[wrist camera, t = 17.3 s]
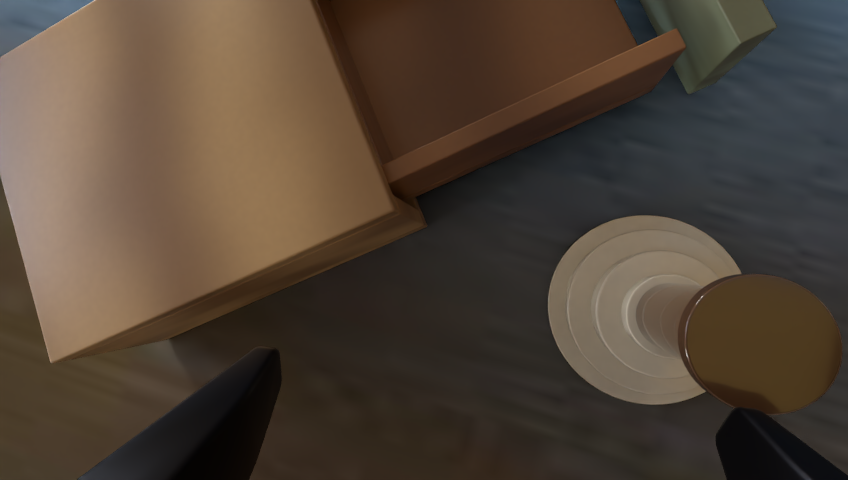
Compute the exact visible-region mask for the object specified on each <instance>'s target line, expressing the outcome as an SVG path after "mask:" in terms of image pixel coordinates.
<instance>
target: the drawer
mask: <svg viewBox="0 0 848 480" xmlns="http://www.w3.org/2000/svg"><path fill="white" fill-rule="evenodd" d="M315 1H316V4H317V6H318V9H319V11H320V14H321V16H322V19H323V21H324V24H325V26H326V29H327V31H328V34H329V36H330V39H331V41H332V44H333V46H334V49H335V51H336V54H337V56H338V59H339V61H340V64H341V66H342V69H343V71H344V74H345V76H346V79H347V81H348V84H349V86H350V89H351V91H352V94H353V96H354V99H355V101H356V104H357V106H358V109H359V111H360V114H361V116H362V119H363V121H364V124H365V126H366V129H367V131H368V134H369V136H370V139H371V141H372V144H373V146H374V149H375V151H376V154H377V156H378V159H379V161H380V164H381V166H382V169H383V172H384V174H385V177H386V179H387V182H388V184H389V187H390V189H391V192H392V194H393V195H394V196H396V197H397V198H399V199H401V200H402V201H404V202H405V201H408V200H410V199H412V198H414V197H417V196H419V195H421V194H423V193H426V192H428V191H430V190H432V189H435V188H437V187H439V186H441V185H443V184H446V183H448V182H450V181H452V180H455V179H457V178H459V177H461V176H464V175H466V174H468V173H470V172H473V171H475V170H477V169H479V168H481V167H484V166H486V165H488V164H490V163H493V162H495V161H497V160H499V159H502V158H504V157H506V156H508V155H511V154H513V153H515V152H517V151H519V150H522V149H524V148H526V147H528V146H531V145H533V144H535V143H537V142H540V141H542V140H544V139H546V138H549V137H551V136H553V135H555V134H558V133H560V132H562V131H564V130H566V129H569V128H571V127H573V126H575V125H578V124H580V123H582V122H584V121H587V120H589V119H591V118H593V117H596V116H598V115H600V114H602V113H604V112H607V111H609V110H611V109H613V108H616V107H618V106H620V105H622V104H625V103H627V102H629V101H631V100H634V99H636V98H638V97H640V96H642V95H645V94H647V93H649V92H651V91H652V90H653V89H654V87H655V86H656V85H657V84H658V83H659V81H660V80H661V79H662V77H663V76H664V75H665V74H666V72H667V71H668V70H669V69H670V67H671V66H672V65H673V66H674V68H675V70H676V72H677V74H678V76H679V78H680V80H681V82H682V84H683V86H684V88H685V90H686V92H687V93H688V94H691V93H693V92H696V91H698V90H700V89H703V88H705V87H707V86H709V85H712V84H714V83H716V82H717V81H718V80H719V79H720V78H721V77H723V76H724V75H725V74H726V73H727V72H728V71H729V70H730V69H731V68H733V67H734V66H735V65H736V64H737V63H738V62H739V61H740V60H741V59H743V58H744V57H745V56H746V55H747V54H748V53H749V52H750V51H751V50H752V49H754V48H755V47H756V46H757V45H758V44H759V43H760V42H761V41H762V40H764V39H765V38H766V37H767V36H768V35H769V34H770V33H771V32H772V31H774V30H775V29H776V28H777V25H776V23H775V22H774V20H773V18H772V16H771V15H770V13H769V11H768V9H767V7H766V6H765V4H764V2H763V0H640V2H641V4H642V6H643V8H644V10H645V12H646V14H647V16H648V18H649V20H650V22H651V24H652V26H653V28H654V30H655V31H656V33H657V35H658V37H656V38H654V39H652V40H649V41H647V42H645V43H643V44H641V45H639V46H638V45H637V43H636V41H635V39H634V37H633V35H632V33H631V31H630V29H629V27H628V25H627V23H626V21H625V19H624V17H623V15H622V13H621V11H620V9H619V7H618V5H617V3H616V1H615V0H315Z"/></svg>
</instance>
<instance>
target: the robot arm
mask: <svg viewBox="0 0 848 480" xmlns="http://www.w3.org/2000/svg"><path fill="white" fill-rule="evenodd" d="M281 381H282V375H281V364H280V353H279V351H278V349H276V348H271V347H263V346H258V347H255V348H254V349H252V350H251V351H250V352H248V353H247V354H246V355H244V356H243V357H242V358H240V359H239V360H237V361H236V362H235V363H233V364H232V365H231V366H229V367H228V368H227V369H225V370H224V371H223V372H221V373H220V374H219V375H217V376H216V377H215V378H213V379H212V380H211V381H209V382H208V383H206V384H205V385H204V386H202V387H201V388H200V389H198V390H197V391H196V392H194V393H193V394H192V395H190V396H189V397H188V398H186V399H185V400H184V401H182V402H181V403H179V404H178V405H177V406H175V407H174V408H173V409H171V410H170V411H169V412H167V413H166V414H165V415H163V416H162V417H161V418H159V419H158V420H157V421H155V422H154V423H152V424H151V425H150V426H148V427H147V428H146V429H144V430H143V431H142V432H140V433H139V434H138V435H136V436H135V437H134V438H132V439H131V440H130V441H128V442H127V443H125V444H124V445H123V446H121V447H120V448H119V449H117V450H116V451H115V452H113V453H112V454H111V455H109V456H108V457H107V458H105V459H104V460H103V461H101V462H100V463H98V464H97V465H96V466H94V467H93V468H92V469H90V470H89V471H88V472H86V473H85V474H84V475H82V476H81V477H80V478H78V479H77V480H249V478H250V476H251V474H252V471H253V469H254V466H255V464H256V461H257V458H258V455H259V452H260V449H261V446H262V443H263V440H264V437H265V434H266V431H267V428H268V425H269V421H270V418H271V415H272V412H273V409H274V406H275V403H276V400H277V397H278V394H279V391H280V387H281ZM716 446H717V450H718V453H719V456H720V459H721V462H722V465H723V469H724V472H725V475H726V478H727V480H848V475H846V474H845V473H844V472H842V471H841V470H840V469H838V468H837V467H836V466H834V465H833V464H832V463H830V462H829V461H828V460H826V459H825V458H824V457H822V456H821V455H820V454H818V453H817V452H816V451H814V450H813V449H812V448H810V447H809V446H808V445H806V444H805V443H804V442H802V441H801V440H800V439H798V438H797V437H796V436H794V435H793V434H792V433H790V432H789V431H788V430H786V429H785V428H784V427H782V426H781V425H780V424H778V423H777V422H776V421H774V420H773V419H772V418H770V417H769V416H768V415H766V414H765V413H764V412H762V411H760V410H757V409H752V408H744V407H736V408H734V409H733V410H732V411H731V412H730V414H729V415H728V417H727V418H726V420H725V421H724V422H723V424H722V425H721V427H720V428H719V430H718V431H717V434H716Z"/></svg>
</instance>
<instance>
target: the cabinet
mask: <svg viewBox="0 0 848 480" xmlns="http://www.w3.org/2000/svg"><path fill="white" fill-rule="evenodd" d="M0 176H1V179H2V183H3V187H4V191H5V194H6V198H7V202H8V206H9V209H10V213H11V217H12V220H13V224H14V228H15V232H16V235H17V239H18V243H19V247H20V250H21V254H22V258H23V262H24V265H25V269H26V273H27V276H28V280H29V284H30V288H31V291H32V295H33V299H34V303H35V306H36V310H37V314H38V317H39V321H40V325H41V329H42V332H43V336H44V340H45V344H46V347H47V351H48V355H49V358H50V362H51V363H57V362H62V361H67V360H70V359H77V358H82V357H86V356H91V355H96V354H101V353H105V352H110V351H115V350H120V349H125V348H129V347H134V346H139V345H144V344H148V343H153V342H158V341H163V340H167V339H169V338H172V337H174V336H176V335H179V334H181V333H183V332H186V331H188V330H190V329H193V328H195V327H197V326H200V325H202V324H204V323H206V322H209V321H211V320H213V319H216V318H218V317H220V316H223V315H225V314H227V313H230V312H232V311H234V310H236V309H239V308H241V307H243V306H246V305H248V304H250V303H253V302H255V301H257V300H260V299H262V298H264V297H266V296H269V295H271V294H273V293H276V292H278V291H280V290H283V289H285V288H287V287H290V286H292V285H294V284H296V283H299V282H301V281H303V280H306V279H308V278H310V277H313V276H315V275H317V274H320V273H322V272H324V271H326V270H329V269H331V268H333V267H336V266H338V265H340V264H343V263H345V262H347V261H350V260H352V259H354V258H357V257H359V256H361V255H363V254H366V253H368V252H370V251H373V250H375V249H377V248H380V247H382V246H384V245H387V244H389V243H391V242H393V241H396V240H398V239H400V238H403V237H405V236H407V235H410V234H412V233H414V232H417V231H419V230H421V229H423V228H426V227H427V224H426V221H425V219H424V216H423V214H422V211H421V209H420V207H419V204H418V202H417V199H416V197H414V198H412V199H410V200H408V201H405V202H404V201H402V200H401V199H399V198H397V197H396V196H394V195H393V194H392V192H391V189H390V187H389V184H388V182H387V179H386V177H385V174H384V172H383V169H382V166H381V164H380V161H379V159H378V156H377V154H376V151H375V149H374V146H373V144H372V141H371V139H370V136H369V134H368V131H367V129H366V126H365V124H364V121H363V119H362V116H361V114H360V111H359V109H358V106H357V104H356V101H355V99H354V96H353V94H352V91H351V89H350V86H349V84H348V81H347V79H346V76H345V74H344V71H343V69H342V66H341V64H340V61H339V59H338V56H337V54H336V51H335V49H334V46H333V44H332V41H331V39H330V36H329V34H328V31H327V29H326V26H325V24H324V21H323V19H322V16H321V14H320V11H319V9H318V6H317V4H316V1H315V0H94V1H93V2H91V3H89V4H88V5H86V6H84V7H83V8H81V9H79V10H78V11H76V12H74V13H73V14H71V15H70V16H68V17H66V18H65V19H63V20H61V21H60V22H58V23H56V24H55V25H53V26H51V27H50V28H48V29H46V30H45V31H43V32H41V33H40V34H38V35H36V36H35V37H33V38H31V39H30V40H28V41H26V42H25V43H23V44H22V45H20V46H18V47H17V48H15V49H13V50H12V51H10V52H8V53H7V54H5V55H3V56H2V57H0Z"/></svg>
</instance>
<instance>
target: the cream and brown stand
mask: <svg viewBox="0 0 848 480" xmlns="http://www.w3.org/2000/svg"><path fill="white" fill-rule="evenodd" d="M547 312H548V320H549V324H550V328H551V332H552V334H553V337H554V339H555V342H556V344H557V346H558V348H559V349H560V351H561V353H562V355H563V356H564V358H565V359H566V360H567V362H568V363H569V364H570V366H571V367H572V368H573V369H574V370H575V371H576V372H577V373H578V374H579V375H580V376H581V377H582V378H583V379H585V380H586V381H587V382H588V383H589V384H591V385H592V386H594V387H596V388H597V389H599V390H600V391H602V392H604V393H606V394H608V395H610V396H613V397H616V398H618V399H621V400H624V401H628V402H633V403H638V404H648V405H660V404H670V403H677V402H681V401H684V400H688V399H691V398H693V397H695V396H698V395H700V394H702V393H704V392H707V393H709V394H710V395H712V396H713V397H715V398H716V399H718V400H719V401H721V402H723V403H724V404H726V405H728V406H730V407H732V408H736V407H744V408H752V409H757V410H760V411H762V412H764V413H765V414H766V415H781V414H787V413H791V412H794V411H798V410H800V409H803V408H805V407H807V406H809V405H810V404H812V403H814V402H815V401H817V400H818V399H819V398H820V397H822V396H823V395H824V394H825V393H826V392H827V390H828V389H829V388H830V387H831V385H832V384H833V382H834V381H835V379H836V377H837V375H838V372H839V369H840V366H841V361H842V354H843V353H842V340H841V334H840V331H839V328H838V325H837V323H836V321H835V319H834V317H833V315H832V314H831V312H830V311H829V309H828V308H827V307H826V306H825V305H824V303H823V302H822V301H821V300H820V299H819V298H818V297H816V296H815V295H814V294H813V293H812V292H810V291H809V290H807V289H806V288H805V287H803V286H801V285H799V284H797V283H795V282H793V281H790V280H788V279H785V278H782V277H778V276H774V275H767V274H742V273H741V271H740V269H739V268H738V266H737V265H736V263H735V262H734V260H733V259H732V257H731V256H730V255H729V254H728V253H727V251H726V250H725V249H724V248H723V247H722V246H721V245H720V244H719V243H717V242H716V241H715V240H714V239H713V238H711V237H710V236H709V235H707V234H706V233H704V232H703V231H701V230H699V229H697V228H695V227H693V226H692V225H689V224H687V223H684V222H682V221H679V220H675V219H671V218H667V217H661V216H654V215H637V216H628V217H623V218H619V219H614V220H612V221H609V222H606V223H604V224H601V225H599V226H597V227H595V228H593V229H591V230H590V231H588V232H587V233H585V234H584V235H582V236H581V237H580V238H578V239H577V240H576V241H575V242H574V243H573V244H572V245H571V246H570V247H569V248H568V249H567V251H566V252H565V253H564V254H563V256H562V257H561V259H560V261H559V262H558V264H557V266H556V268H555V270H554V272H553V274H552V278H551V281H550V284H549V290H548V296H547Z"/></svg>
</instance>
